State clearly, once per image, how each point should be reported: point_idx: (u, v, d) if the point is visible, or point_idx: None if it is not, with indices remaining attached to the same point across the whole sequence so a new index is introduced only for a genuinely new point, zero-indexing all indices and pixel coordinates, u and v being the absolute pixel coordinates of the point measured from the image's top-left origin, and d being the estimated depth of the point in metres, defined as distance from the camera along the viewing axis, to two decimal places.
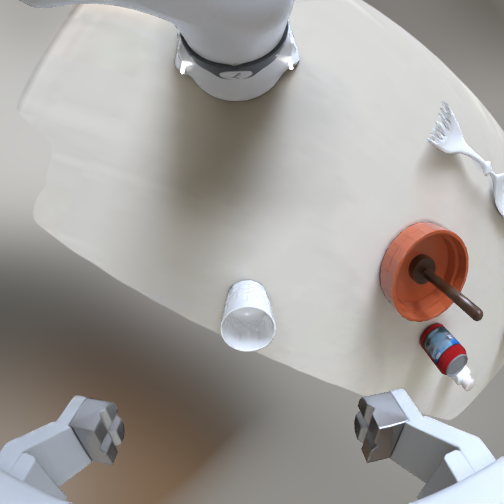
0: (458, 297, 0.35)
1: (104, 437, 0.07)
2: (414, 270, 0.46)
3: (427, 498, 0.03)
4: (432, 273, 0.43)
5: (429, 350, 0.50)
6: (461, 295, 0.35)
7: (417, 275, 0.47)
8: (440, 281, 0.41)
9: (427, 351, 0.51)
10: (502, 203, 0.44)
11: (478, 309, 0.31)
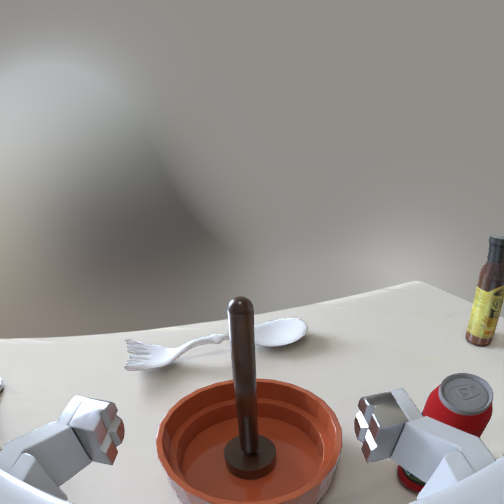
0: (232, 364, 0.21)
1: (104, 437, 0.07)
2: (230, 463, 0.23)
3: (427, 498, 0.03)
4: None
5: None
6: None
7: (244, 463, 0.23)
8: (237, 412, 0.23)
9: None
10: (279, 340, 0.49)
11: None
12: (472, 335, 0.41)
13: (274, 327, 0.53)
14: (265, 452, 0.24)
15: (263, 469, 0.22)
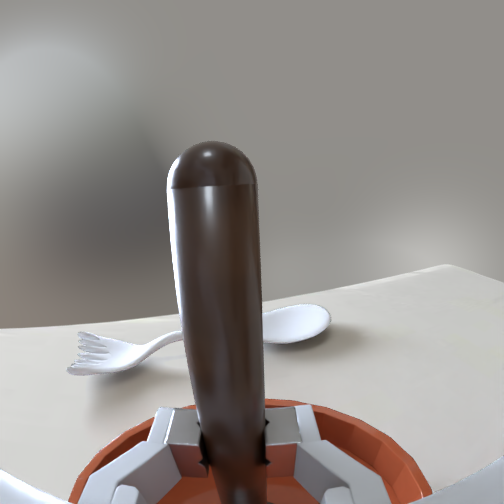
0: None
1: None
2: None
3: (427, 498, 0.03)
4: None
5: None
6: None
7: None
8: None
9: None
10: (292, 334, 0.34)
11: None
12: None
13: (284, 317, 0.39)
14: None
15: None
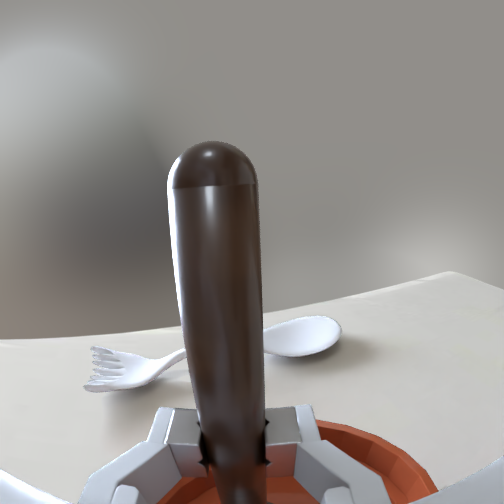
0: None
1: None
2: None
3: (427, 498, 0.03)
4: None
5: None
6: None
7: None
8: None
9: None
10: (304, 347, 0.35)
11: None
12: None
13: (295, 329, 0.39)
14: None
15: None
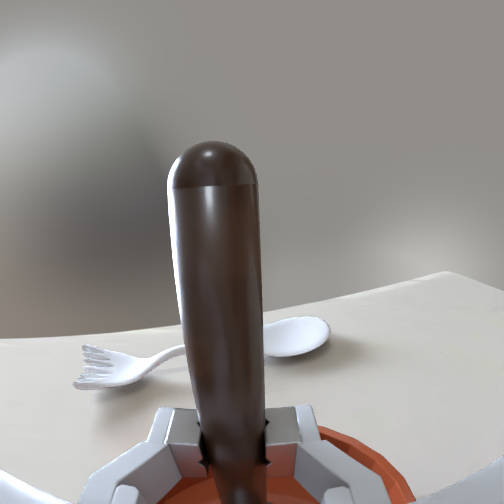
0: None
1: None
2: None
3: (427, 498, 0.03)
4: None
5: None
6: None
7: None
8: None
9: None
10: (292, 347, 0.35)
11: None
12: None
13: (284, 329, 0.39)
14: None
15: None
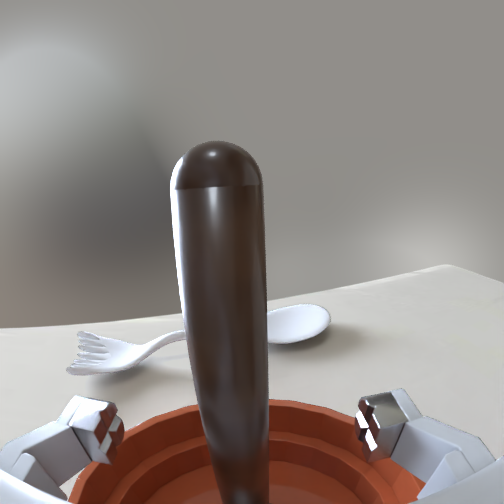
0: None
1: (104, 437, 0.07)
2: None
3: (427, 498, 0.03)
4: None
5: None
6: None
7: None
8: None
9: None
10: (292, 334, 0.34)
11: None
12: None
13: (284, 317, 0.39)
14: None
15: None
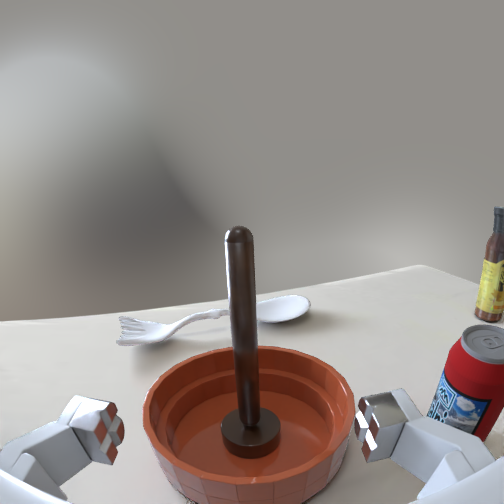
0: (230, 308, 0.20)
1: (104, 437, 0.07)
2: (227, 438, 0.21)
3: (427, 498, 0.03)
4: None
5: None
6: None
7: (244, 438, 0.21)
8: None
9: None
10: (281, 316, 0.47)
11: None
12: (482, 311, 0.39)
13: (275, 304, 0.52)
14: (268, 426, 0.22)
15: (266, 445, 0.20)
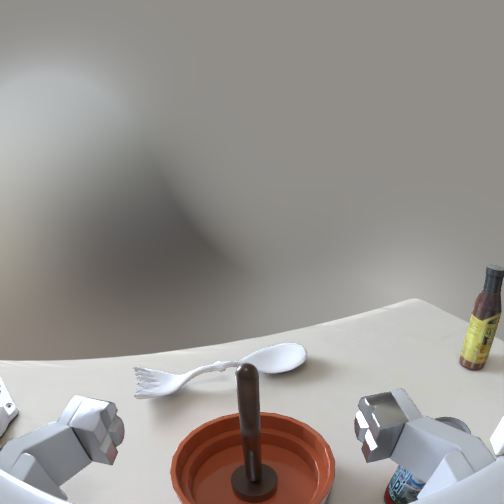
0: (239, 415, 0.23)
1: (104, 437, 0.07)
2: (236, 489, 0.24)
3: (427, 498, 0.03)
4: None
5: (414, 497, 0.17)
6: None
7: (249, 490, 0.24)
8: None
9: None
10: (280, 366, 0.50)
11: None
12: (465, 360, 0.42)
13: (275, 352, 0.55)
14: (268, 479, 0.25)
15: (266, 494, 0.23)
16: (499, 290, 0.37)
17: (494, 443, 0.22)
